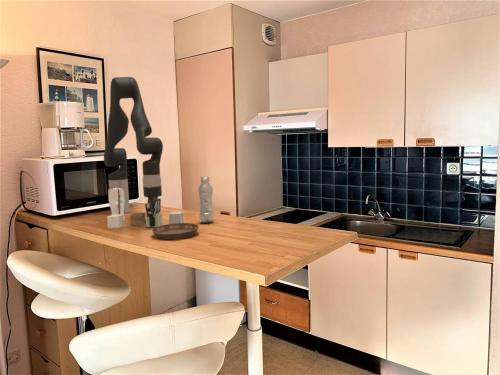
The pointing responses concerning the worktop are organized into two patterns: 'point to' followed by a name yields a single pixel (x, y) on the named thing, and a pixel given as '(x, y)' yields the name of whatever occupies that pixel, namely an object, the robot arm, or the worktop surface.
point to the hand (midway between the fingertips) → (154, 224)
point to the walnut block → (138, 219)
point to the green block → (157, 220)
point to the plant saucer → (175, 230)
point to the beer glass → (116, 201)
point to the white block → (115, 221)
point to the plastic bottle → (205, 201)
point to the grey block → (176, 217)
